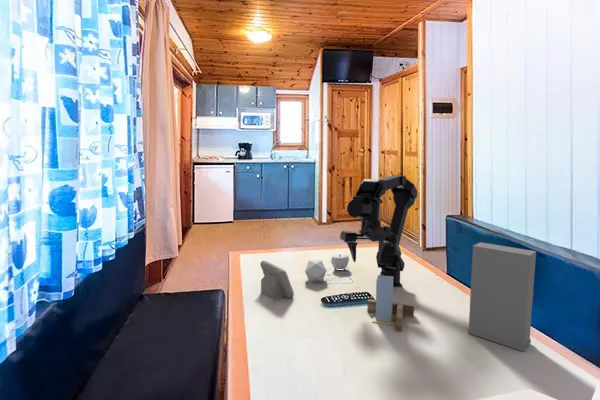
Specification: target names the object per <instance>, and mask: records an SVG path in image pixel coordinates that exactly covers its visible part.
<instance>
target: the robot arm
mask: <svg viewBox="0 0 600 400" xmlns="http://www.w3.org/2000/svg"><path fill="white" fill-rule="evenodd" d="M388 190H390V192H391V194H393V197H392V200H393V202H394V205H395V206H394V210H393V214H392V217H391V222H390V225H389V226H387V225H386V226H381V219H380V207H381V205H380V204H383V200H382V199H381V197H382V196H383V195H385V194H386V192H387V191H388ZM417 197H418V190H417V187H416V186H415V184H414V183H413V182H411V181H410V180H408V179H407V176H406V175H403V174H391V175H390V176H386V177H383V178H379V179H373V178H372V179H369V178H364V179H363V180H361V183H360V185H359V187H358V189H357V191H356V193H355V195H353V198H352V200H350V201H349V202H348V205H347V207H346V212H347V213H348V215H349V216H350V217H352V218H359V219H360V220H359V221H360V222H361V225H360V229H359V231H358V233H357V232H355V231H352V230H342V231H340V232H341V233H339V234H340V235H339V236H340V237H339V239H340V240H342V241H343V242H344V243H346V244H347V247H348V250H349V252H350V255H351V258H352V261H353V262H354V263H356V260H357V246H358V242H357V240H369V241H371V242H374V243H375V242H378V249H377V252H376V256H375V257H376V264H377V268H379V269H380V268H381V271H380V272H379V275H382V276H393V288H394V287H396V288H397V287H402V286H403V283H401V272H403V271H404V269H405V262H404V260H403V259H402V251H401V248H400V242H401V238H402V234H403V230H404V227H405V222H406V218H407V216H408V215H407V214H408V211H409V209H410V208H411V207H412V206H414V204H415V201H416V199H417Z"/></svg>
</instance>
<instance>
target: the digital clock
mask: <svg viewBox="0 0 600 400" xmlns="http://www.w3.org/2000/svg"><path fill="white" fill-rule="evenodd" d="M260 267H261V270H262V274H263V275H264V276H263V277H262V279H261V280H260V292H261V293H263V294H265V295H266V296H267V297H269V298H270V299H272V300H275V299H279V298H283V297H286V298H288V299H292V298H294V295H295V292H294V289H293V286H292V284H291V281H290V279H289V276H288V274H287V271H286V270H285V269H283V268H282V267H279V266H278V265H276V264H274V263H271V262H270V261H267V260H262V261H261V262H260Z"/></svg>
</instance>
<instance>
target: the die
mask: <svg viewBox="0 0 600 400" xmlns="http://www.w3.org/2000/svg"><path fill="white" fill-rule="evenodd" d="M304 273H305V275H306V278H307V280H308V282H309V283H317V282H318V283H319V282H320V283H322V282H323V281H324V279H325V275H326V273H327V268H326V267H325V264H324V262H323V260H308V262H307V265H306V268H305V270H304Z"/></svg>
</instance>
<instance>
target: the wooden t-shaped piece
mask: <svg viewBox="0 0 600 400" xmlns="http://www.w3.org/2000/svg"><path fill="white" fill-rule="evenodd" d="M366 306H367V308H366V309H367V310H366V311H367V312H368V313H373V316H372V321H371V322H372V323H374V324H383V325H391V326H395V332H399V333H400V332H402V331H403V330H402V329H403V328H402V327H403V318H404V317H409V318H414V316H415V315H414V314H415V304H414V303H408V302H407V303H405V302H396V301H393V312H392V321H391V322H384V321H377V320H376V299H370V298H369V299H367V305H366Z"/></svg>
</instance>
